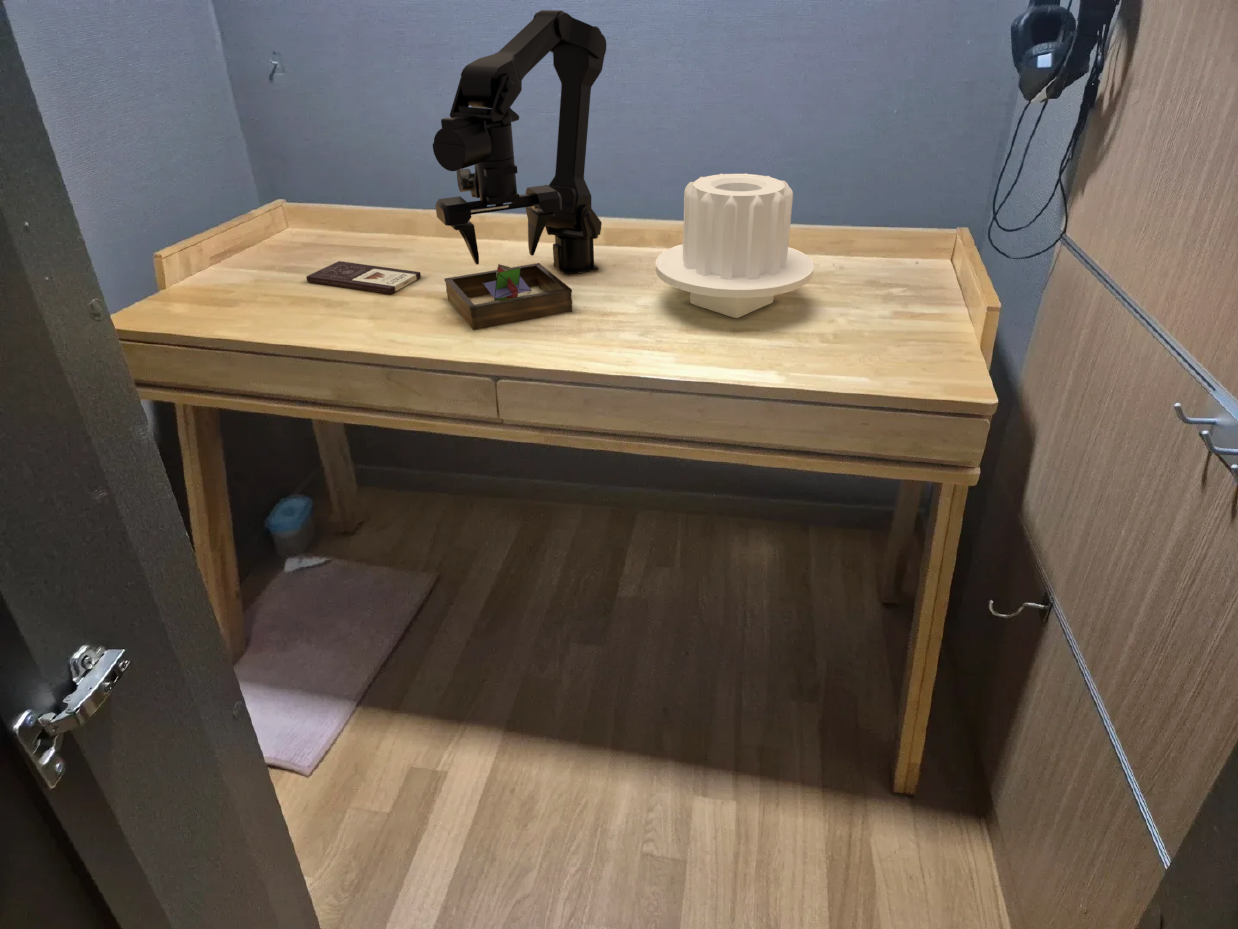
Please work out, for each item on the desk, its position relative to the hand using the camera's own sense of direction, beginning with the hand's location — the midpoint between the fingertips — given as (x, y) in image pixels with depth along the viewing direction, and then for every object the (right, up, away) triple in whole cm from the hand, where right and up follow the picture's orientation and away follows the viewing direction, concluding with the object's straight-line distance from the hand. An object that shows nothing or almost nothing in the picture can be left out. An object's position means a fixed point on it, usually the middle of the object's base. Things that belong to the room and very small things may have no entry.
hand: (504, 259), depth 130 cm
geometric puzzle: (0, -7, +4) cm, 8 cm away
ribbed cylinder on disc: (+37, -6, +4) cm, 38 cm away
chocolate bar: (-27, 0, +16) cm, 31 cm away
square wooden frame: (0, -7, +4) cm, 8 cm away
